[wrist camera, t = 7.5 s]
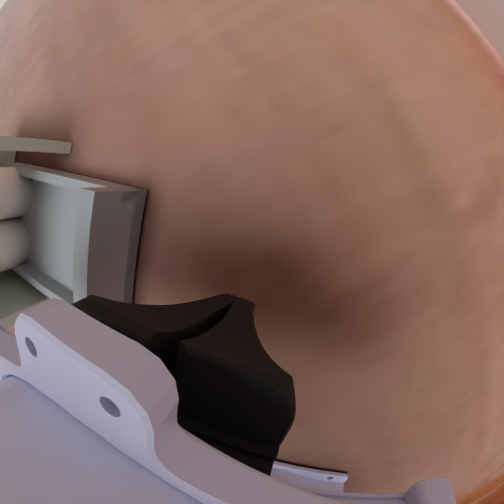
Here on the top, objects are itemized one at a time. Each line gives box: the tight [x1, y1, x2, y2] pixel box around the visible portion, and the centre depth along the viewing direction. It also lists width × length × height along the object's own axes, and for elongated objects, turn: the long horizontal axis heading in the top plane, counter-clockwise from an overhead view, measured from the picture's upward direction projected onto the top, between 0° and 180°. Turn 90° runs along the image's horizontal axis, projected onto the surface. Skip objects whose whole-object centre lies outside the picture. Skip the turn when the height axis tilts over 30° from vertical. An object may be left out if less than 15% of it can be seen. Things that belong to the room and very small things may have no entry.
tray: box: [0, 163, 147, 304], centre depth 13 cm, size 15×8×6 cm, turn 75°
